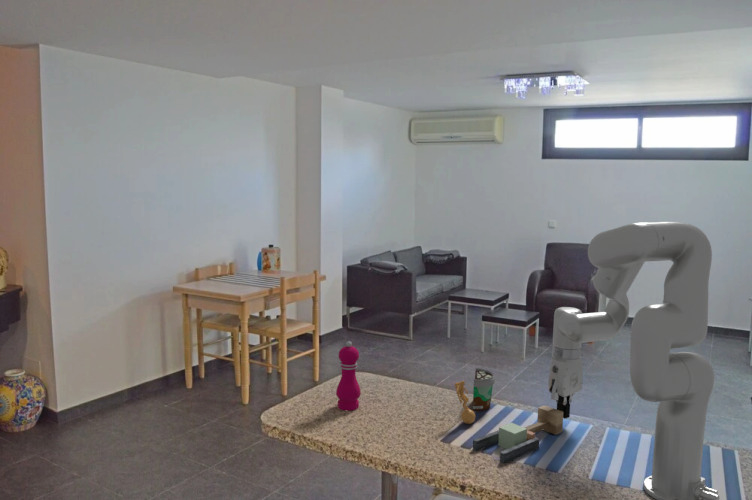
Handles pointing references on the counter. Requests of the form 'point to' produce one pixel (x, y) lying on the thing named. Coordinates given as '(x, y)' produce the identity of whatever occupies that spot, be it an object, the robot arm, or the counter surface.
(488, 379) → the food container
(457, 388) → the figurine
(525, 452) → the dark grey rails
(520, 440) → the block
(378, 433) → the counter surface
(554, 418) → the tan pedestal
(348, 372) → the pepper mill
